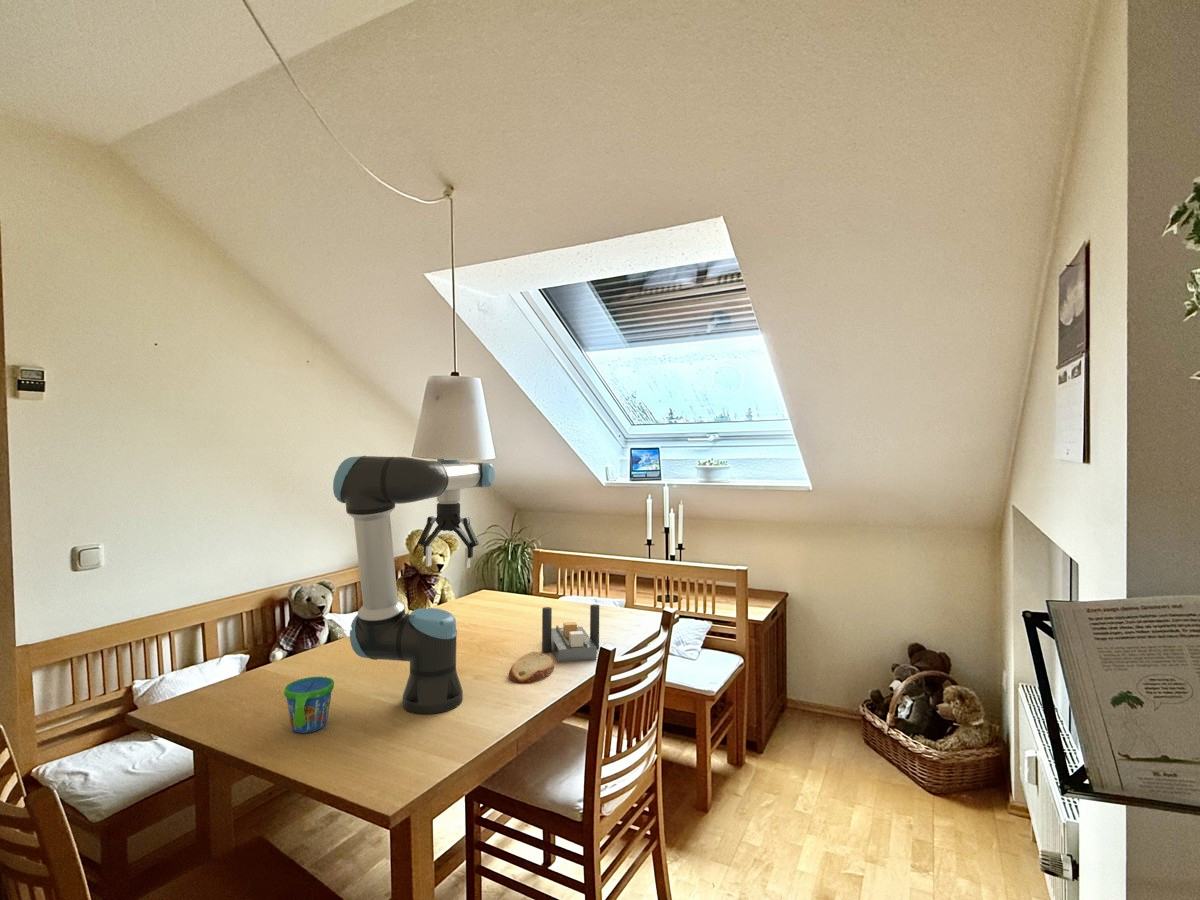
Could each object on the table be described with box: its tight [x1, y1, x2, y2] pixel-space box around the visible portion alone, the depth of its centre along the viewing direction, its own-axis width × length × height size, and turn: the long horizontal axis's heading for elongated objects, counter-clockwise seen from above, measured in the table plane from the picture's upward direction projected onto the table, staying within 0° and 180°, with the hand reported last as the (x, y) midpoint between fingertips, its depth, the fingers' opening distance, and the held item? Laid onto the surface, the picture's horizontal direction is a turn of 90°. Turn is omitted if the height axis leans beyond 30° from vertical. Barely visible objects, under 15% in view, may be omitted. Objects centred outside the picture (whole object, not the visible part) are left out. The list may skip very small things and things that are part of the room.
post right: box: [589, 604, 600, 650], centre depth 202 cm, size 3×3×14 cm
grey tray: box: [551, 625, 598, 663], centre depth 200 cm, size 22×12×5 cm, turn 14°
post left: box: [541, 606, 553, 654], centre depth 198 cm, size 3×3×14 cm
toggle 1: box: [562, 621, 578, 637], centre depth 202 cm, size 3×4×4 cm
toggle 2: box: [569, 631, 584, 647], centre depth 192 cm, size 3×4×4 cm
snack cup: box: [283, 676, 335, 734], centre depth 144 cm, size 16×10×10 cm
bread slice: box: [508, 651, 555, 685], centre depth 182 cm, size 18×18×4 cm
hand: (448, 567), depth 201 cm, fingers open, 13 cm apart
